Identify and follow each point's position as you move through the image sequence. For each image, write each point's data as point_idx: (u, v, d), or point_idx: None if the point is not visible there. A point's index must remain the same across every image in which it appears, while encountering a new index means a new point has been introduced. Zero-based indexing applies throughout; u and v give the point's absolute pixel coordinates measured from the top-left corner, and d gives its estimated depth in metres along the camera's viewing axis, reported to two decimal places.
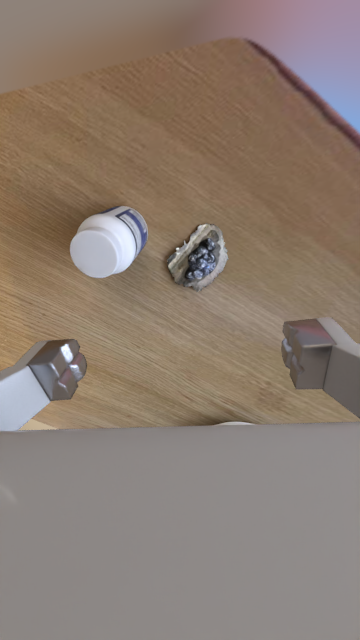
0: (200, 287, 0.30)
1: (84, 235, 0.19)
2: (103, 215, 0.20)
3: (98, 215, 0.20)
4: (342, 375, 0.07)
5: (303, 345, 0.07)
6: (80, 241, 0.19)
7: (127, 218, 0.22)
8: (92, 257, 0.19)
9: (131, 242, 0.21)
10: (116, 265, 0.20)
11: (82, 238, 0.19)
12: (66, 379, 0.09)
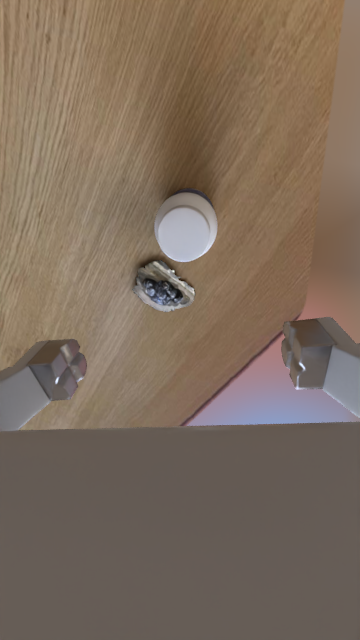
0: (136, 292, 0.30)
1: (204, 229, 0.17)
2: (216, 232, 0.20)
3: (216, 226, 0.20)
4: (342, 375, 0.07)
5: (303, 345, 0.07)
6: (199, 224, 0.17)
7: None
8: (181, 233, 0.18)
9: None
10: (173, 258, 0.19)
11: (201, 227, 0.17)
12: (66, 379, 0.09)
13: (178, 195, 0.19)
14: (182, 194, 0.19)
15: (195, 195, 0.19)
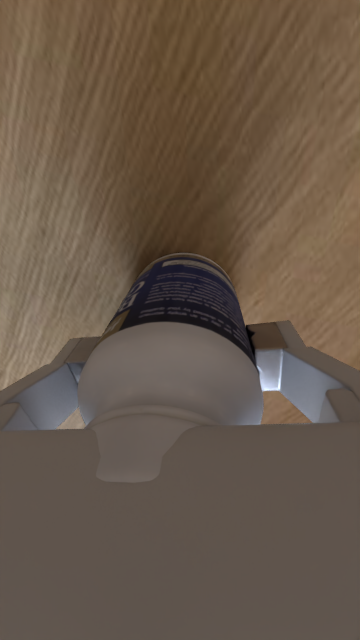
0: None
1: None
2: None
3: None
4: (293, 377, 0.07)
5: (256, 348, 0.07)
6: None
7: None
8: None
9: None
10: None
11: None
12: None
13: (140, 343, 0.05)
14: (154, 340, 0.05)
15: (198, 342, 0.06)
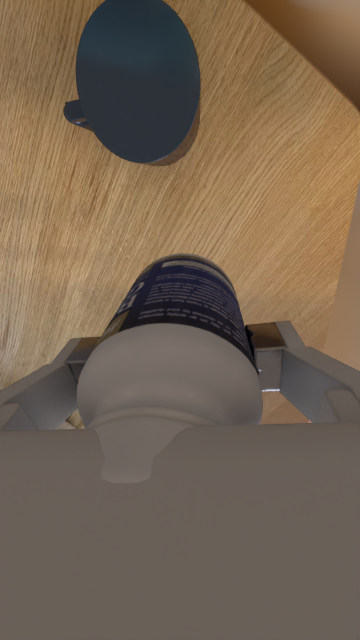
0: None
1: None
2: None
3: None
4: (292, 378, 0.07)
5: (256, 348, 0.07)
6: None
7: None
8: None
9: None
10: None
11: None
12: None
13: (140, 344, 0.05)
14: (153, 342, 0.05)
15: (198, 344, 0.05)
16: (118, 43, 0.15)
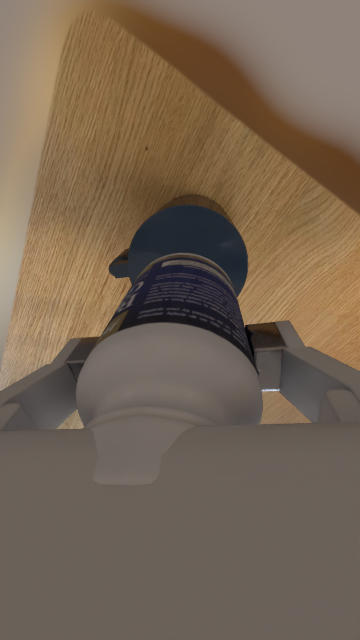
0: None
1: None
2: None
3: None
4: (292, 377, 0.07)
5: (256, 348, 0.07)
6: None
7: None
8: None
9: None
10: None
11: None
12: None
13: (139, 344, 0.05)
14: (153, 341, 0.05)
15: (197, 343, 0.05)
16: (171, 239, 0.16)
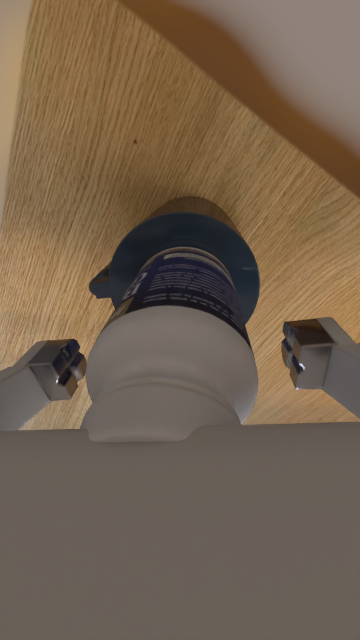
0: None
1: None
2: None
3: (256, 390, 0.07)
4: (342, 375, 0.07)
5: (303, 345, 0.07)
6: None
7: None
8: None
9: None
10: None
11: None
12: (66, 379, 0.09)
13: (145, 323, 0.06)
14: (158, 321, 0.06)
15: (198, 323, 0.06)
16: None
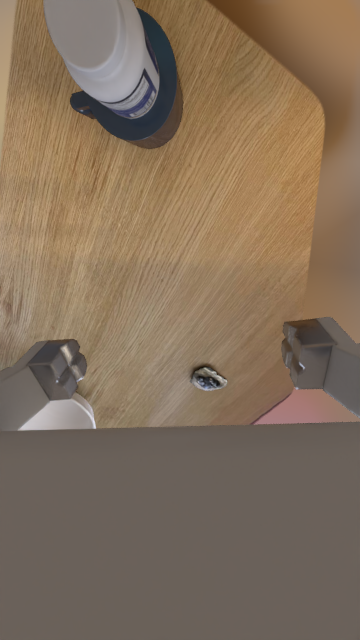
0: (192, 382, 0.50)
1: (108, 1, 0.12)
2: (143, 46, 0.15)
3: (142, 36, 0.14)
4: (342, 375, 0.07)
5: (303, 345, 0.07)
6: None
7: (143, 89, 0.17)
8: (78, 12, 0.12)
9: (113, 96, 0.16)
10: (74, 65, 0.13)
11: None
12: (66, 379, 0.09)
13: None
14: None
15: None
16: None
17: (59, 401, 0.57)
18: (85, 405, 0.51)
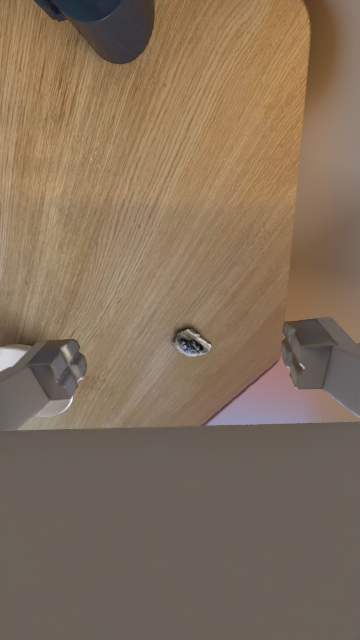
0: (174, 346, 0.48)
1: None
2: None
3: None
4: (342, 375, 0.07)
5: (303, 345, 0.07)
6: None
7: None
8: None
9: None
10: None
11: None
12: (66, 379, 0.09)
13: None
14: None
15: None
16: None
17: None
18: None
